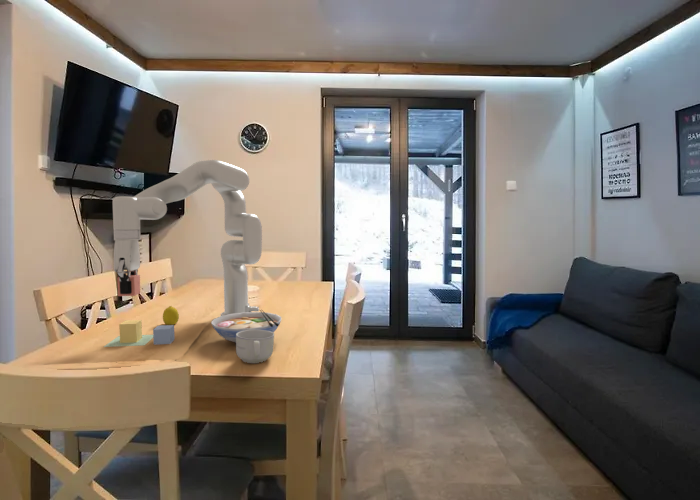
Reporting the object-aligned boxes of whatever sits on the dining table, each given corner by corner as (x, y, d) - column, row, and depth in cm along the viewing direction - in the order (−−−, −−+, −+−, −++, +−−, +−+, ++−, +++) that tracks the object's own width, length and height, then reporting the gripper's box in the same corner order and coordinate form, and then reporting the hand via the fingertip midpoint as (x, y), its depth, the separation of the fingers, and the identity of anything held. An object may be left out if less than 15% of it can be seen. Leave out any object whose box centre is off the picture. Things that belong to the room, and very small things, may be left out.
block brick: (140, 292, 138) (139, 274, 137) (134, 295, 133) (134, 276, 132) (124, 293, 137) (123, 275, 136) (118, 296, 132) (117, 277, 131)
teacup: (239, 354, 126) (239, 328, 126) (276, 353, 127) (276, 327, 127) (230, 371, 112) (230, 342, 112) (271, 370, 113) (271, 341, 113)
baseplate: (156, 337, 143) (156, 334, 143) (144, 348, 131) (144, 345, 131) (119, 339, 141) (118, 335, 141) (103, 350, 129) (103, 346, 129)
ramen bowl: (209, 334, 147) (209, 311, 146) (274, 328, 155) (274, 307, 154) (213, 357, 124) (212, 329, 123) (289, 348, 132) (289, 323, 131)
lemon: (173, 329, 154) (172, 308, 153) (159, 328, 155) (159, 307, 154) (182, 325, 159) (181, 304, 158) (169, 324, 160) (168, 304, 159)
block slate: (174, 343, 138) (174, 325, 137) (170, 347, 133) (169, 329, 132) (158, 343, 137) (158, 325, 136) (153, 348, 132) (153, 329, 131)
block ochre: (142, 337, 139) (141, 320, 138) (136, 342, 134) (136, 323, 133) (126, 338, 138) (125, 320, 138) (120, 342, 133) (119, 324, 133)
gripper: (125, 234, 141) (127, 288, 143) (103, 236, 124) (105, 297, 126) (148, 234, 142) (150, 287, 144) (129, 236, 125) (132, 296, 127)
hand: (129, 291), depth 135 cm, fingers closed on block brick, 4 cm apart
